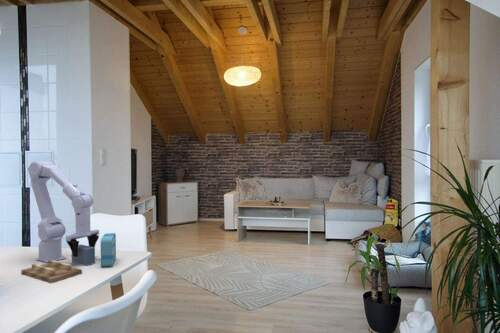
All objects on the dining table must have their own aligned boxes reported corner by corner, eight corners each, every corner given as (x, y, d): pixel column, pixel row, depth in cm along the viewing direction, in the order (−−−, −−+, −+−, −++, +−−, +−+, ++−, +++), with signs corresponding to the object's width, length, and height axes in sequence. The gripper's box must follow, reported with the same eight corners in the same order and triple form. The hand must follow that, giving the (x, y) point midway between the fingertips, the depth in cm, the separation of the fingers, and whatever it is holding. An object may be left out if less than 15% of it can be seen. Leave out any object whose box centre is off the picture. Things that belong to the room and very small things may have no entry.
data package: (112, 267, 143) (112, 238, 143) (100, 268, 142) (100, 239, 142) (115, 258, 155) (115, 232, 154) (105, 259, 153) (104, 232, 153)
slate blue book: (71, 262, 150) (71, 246, 149) (80, 259, 153) (80, 244, 153) (86, 266, 145) (86, 249, 144) (94, 263, 148) (94, 247, 148)
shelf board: (21, 273, 134) (21, 264, 134) (51, 265, 145) (51, 257, 145) (51, 283, 125) (51, 273, 125) (81, 273, 135) (81, 264, 135)
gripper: (72, 226, 140) (73, 259, 140) (103, 220, 153) (104, 251, 153) (62, 225, 143) (63, 257, 144) (93, 219, 156) (93, 249, 156)
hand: (83, 254), depth 149 cm, fingers open, 7 cm apart
